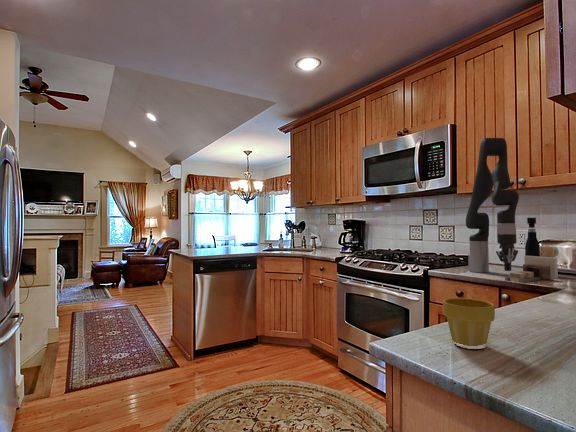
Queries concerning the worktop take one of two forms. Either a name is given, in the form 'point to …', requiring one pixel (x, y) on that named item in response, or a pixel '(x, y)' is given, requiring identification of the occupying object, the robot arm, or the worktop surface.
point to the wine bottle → (532, 240)
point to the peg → (520, 275)
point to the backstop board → (544, 263)
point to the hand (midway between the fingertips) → (507, 270)
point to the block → (538, 270)
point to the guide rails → (525, 279)
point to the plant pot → (469, 320)
